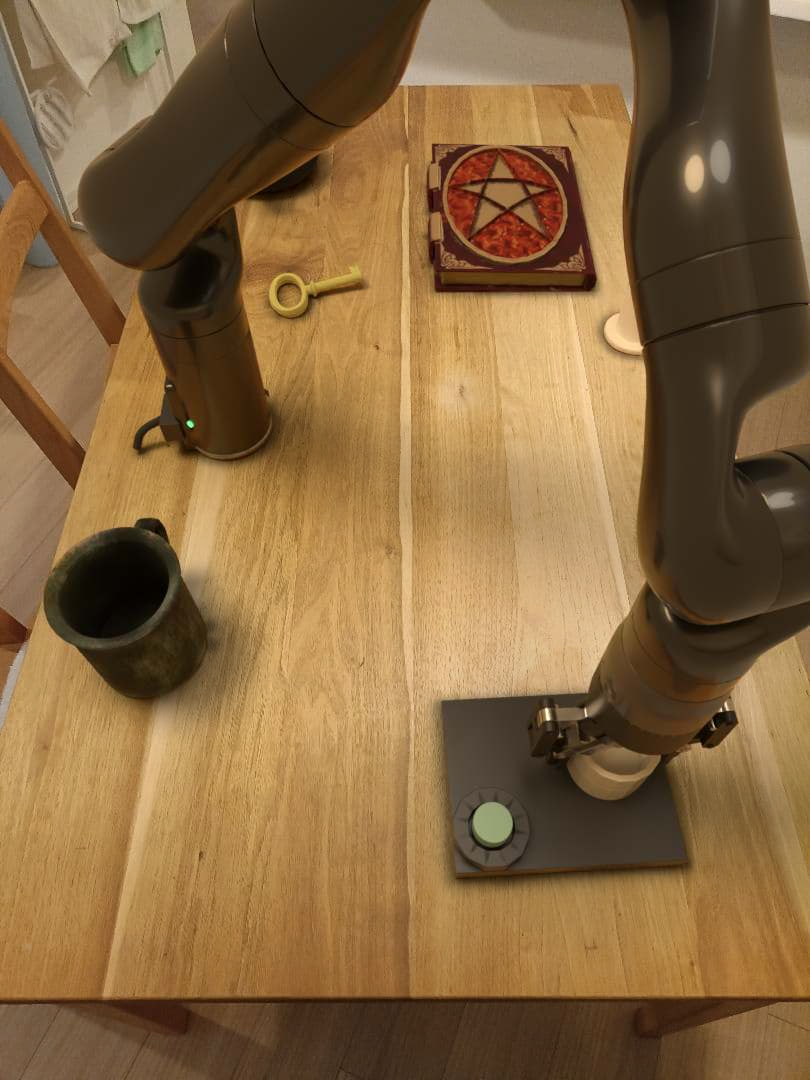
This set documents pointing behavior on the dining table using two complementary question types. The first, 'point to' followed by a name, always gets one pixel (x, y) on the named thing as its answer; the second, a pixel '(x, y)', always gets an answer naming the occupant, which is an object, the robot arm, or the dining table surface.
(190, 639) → the mug
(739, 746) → the dining table surface
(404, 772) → the dining table surface
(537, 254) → the book
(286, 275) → the key
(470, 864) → the scale
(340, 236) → the dining table surface
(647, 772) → the beige cup
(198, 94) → the robot arm
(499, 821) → the button
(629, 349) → the candle
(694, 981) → the dining table surface
